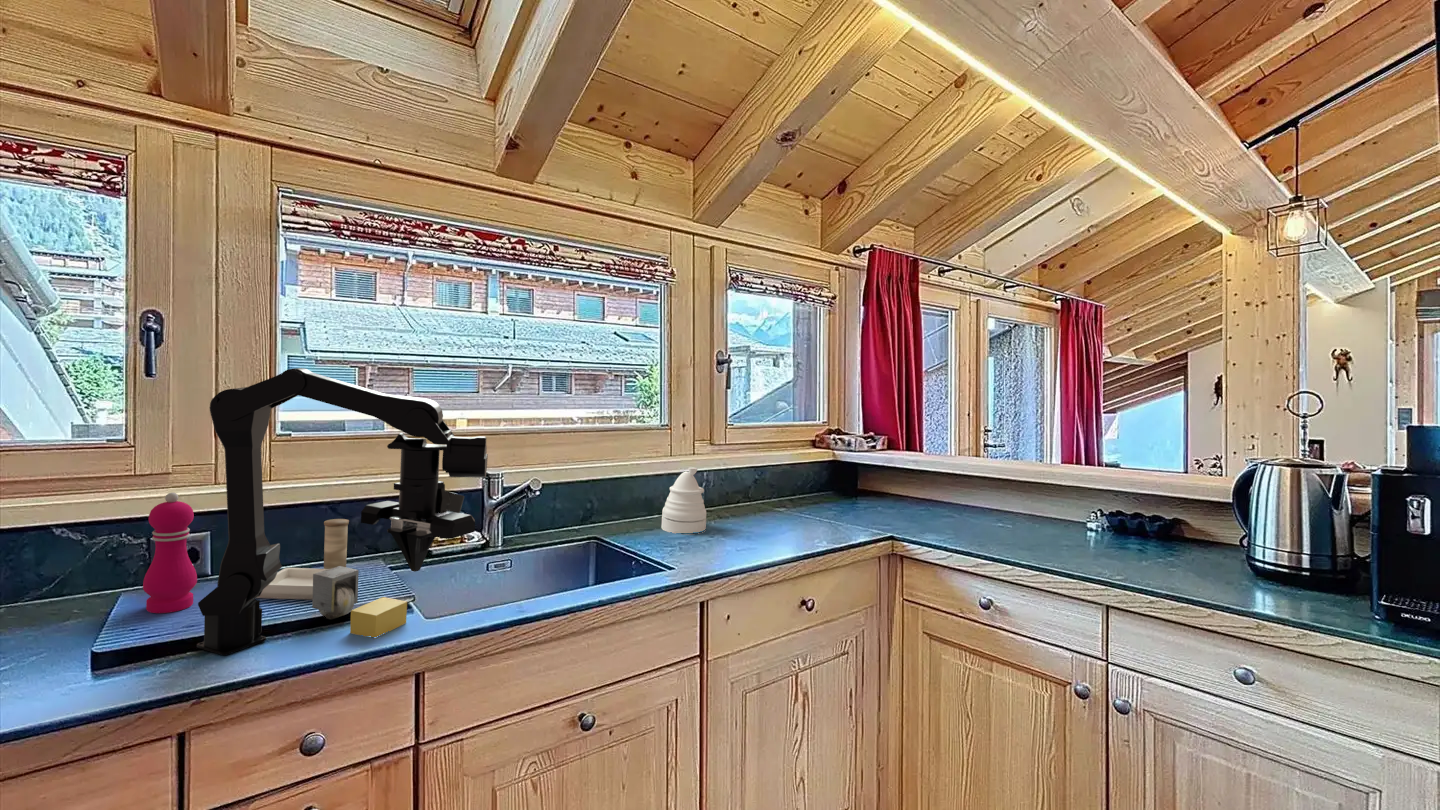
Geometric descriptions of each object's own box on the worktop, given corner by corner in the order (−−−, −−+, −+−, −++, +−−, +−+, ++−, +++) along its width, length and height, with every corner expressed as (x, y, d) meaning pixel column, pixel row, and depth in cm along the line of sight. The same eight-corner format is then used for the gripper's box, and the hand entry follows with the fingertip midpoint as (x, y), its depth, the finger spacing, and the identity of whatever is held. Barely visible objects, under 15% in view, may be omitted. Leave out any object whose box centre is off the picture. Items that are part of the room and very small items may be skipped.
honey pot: (714, 528, 195) (718, 468, 194) (688, 536, 184) (692, 472, 183) (678, 521, 202) (682, 462, 201) (652, 528, 191) (655, 466, 190)
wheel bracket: (334, 625, 112) (335, 579, 112) (308, 618, 114) (309, 573, 114) (360, 614, 117) (362, 570, 117) (335, 608, 119) (336, 565, 119)
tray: (325, 599, 123) (325, 586, 123) (255, 598, 122) (256, 584, 121) (349, 581, 133) (350, 569, 133) (285, 580, 132) (285, 567, 131)
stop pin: (333, 579, 134) (335, 525, 133) (317, 575, 135) (318, 522, 135) (352, 573, 138) (353, 520, 137) (336, 569, 139) (338, 517, 139)
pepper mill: (166, 617, 111) (167, 498, 110) (131, 611, 112) (132, 494, 111) (207, 602, 118) (209, 491, 117) (174, 597, 120) (175, 487, 118)
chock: (375, 639, 108) (376, 615, 108) (350, 634, 110) (350, 610, 109) (406, 624, 115) (407, 601, 115) (382, 619, 116) (382, 597, 116)
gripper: (499, 476, 113) (494, 567, 114) (413, 464, 119) (409, 550, 120) (451, 486, 102) (447, 586, 103) (360, 472, 108) (356, 566, 109)
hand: (415, 570), depth 109 cm, fingers closed
